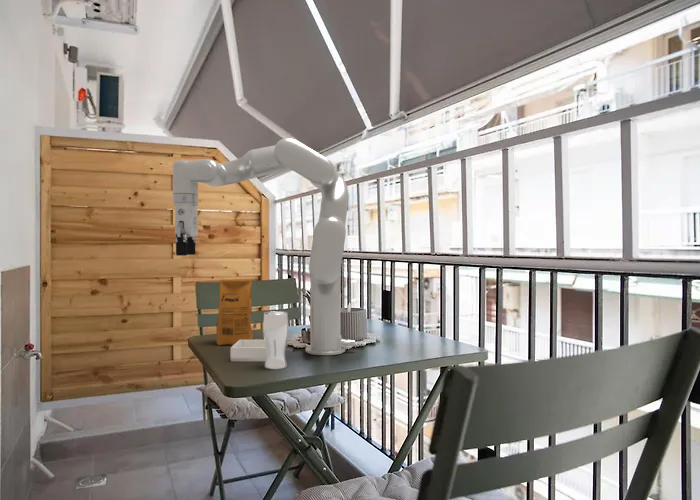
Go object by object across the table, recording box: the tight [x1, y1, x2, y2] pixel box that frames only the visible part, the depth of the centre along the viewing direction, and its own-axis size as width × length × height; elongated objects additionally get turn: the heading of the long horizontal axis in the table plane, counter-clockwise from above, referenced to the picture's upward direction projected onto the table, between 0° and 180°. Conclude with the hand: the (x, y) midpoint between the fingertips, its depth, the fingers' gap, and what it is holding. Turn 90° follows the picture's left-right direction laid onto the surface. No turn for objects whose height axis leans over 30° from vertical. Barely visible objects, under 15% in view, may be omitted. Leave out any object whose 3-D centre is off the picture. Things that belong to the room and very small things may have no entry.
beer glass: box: [262, 310, 289, 370], centre depth 137 cm, size 7×7×15 cm
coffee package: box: [215, 278, 254, 346], centre depth 170 cm, size 10×12×22 cm
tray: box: [230, 339, 266, 362], centre depth 149 cm, size 12×12×4 cm
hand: (186, 255), depth 155 cm, fingers open, 9 cm apart
